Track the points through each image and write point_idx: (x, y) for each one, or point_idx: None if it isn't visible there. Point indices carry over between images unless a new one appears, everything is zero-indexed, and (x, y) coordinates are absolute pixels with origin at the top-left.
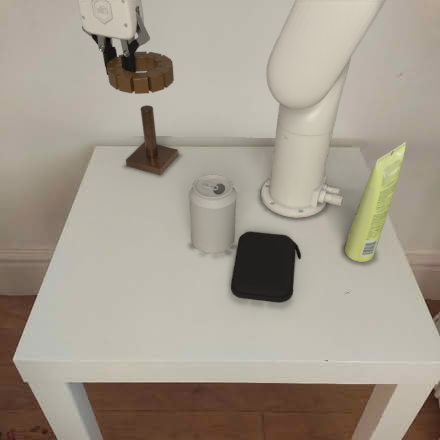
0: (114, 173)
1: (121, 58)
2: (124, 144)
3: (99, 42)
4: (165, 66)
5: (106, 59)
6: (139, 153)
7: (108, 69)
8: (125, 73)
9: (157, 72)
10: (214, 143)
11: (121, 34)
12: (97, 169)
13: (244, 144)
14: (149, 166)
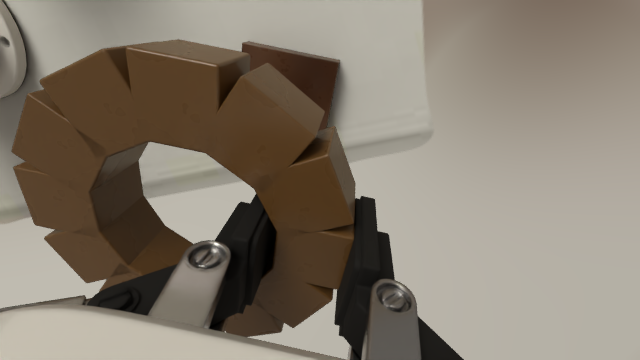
0: (359, 20)
1: (256, 237)
2: (374, 148)
3: (406, 331)
4: (68, 232)
5: (362, 241)
6: (315, 99)
7: (320, 153)
8: (189, 114)
9: (50, 166)
10: (195, 185)
11: (56, 351)
12: (409, 26)
13: (143, 191)
14: (270, 48)
